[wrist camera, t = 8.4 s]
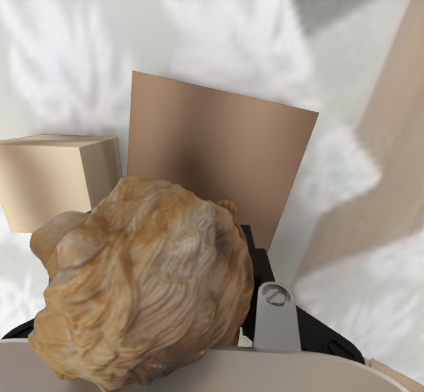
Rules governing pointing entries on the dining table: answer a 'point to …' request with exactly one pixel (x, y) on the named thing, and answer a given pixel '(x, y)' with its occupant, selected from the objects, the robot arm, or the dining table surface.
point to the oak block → (55, 176)
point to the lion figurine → (140, 284)
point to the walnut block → (218, 146)
